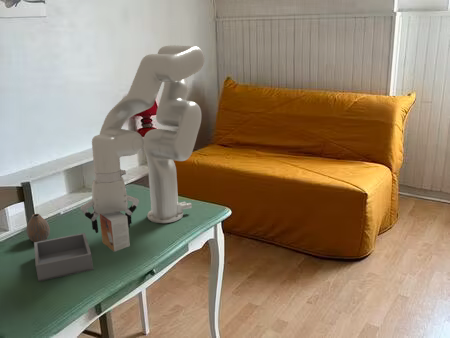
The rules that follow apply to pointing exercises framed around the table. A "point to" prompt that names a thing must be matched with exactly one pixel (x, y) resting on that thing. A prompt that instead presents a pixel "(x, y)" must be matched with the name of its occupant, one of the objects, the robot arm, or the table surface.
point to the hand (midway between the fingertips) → (112, 228)
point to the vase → (37, 228)
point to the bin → (62, 256)
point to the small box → (115, 230)
